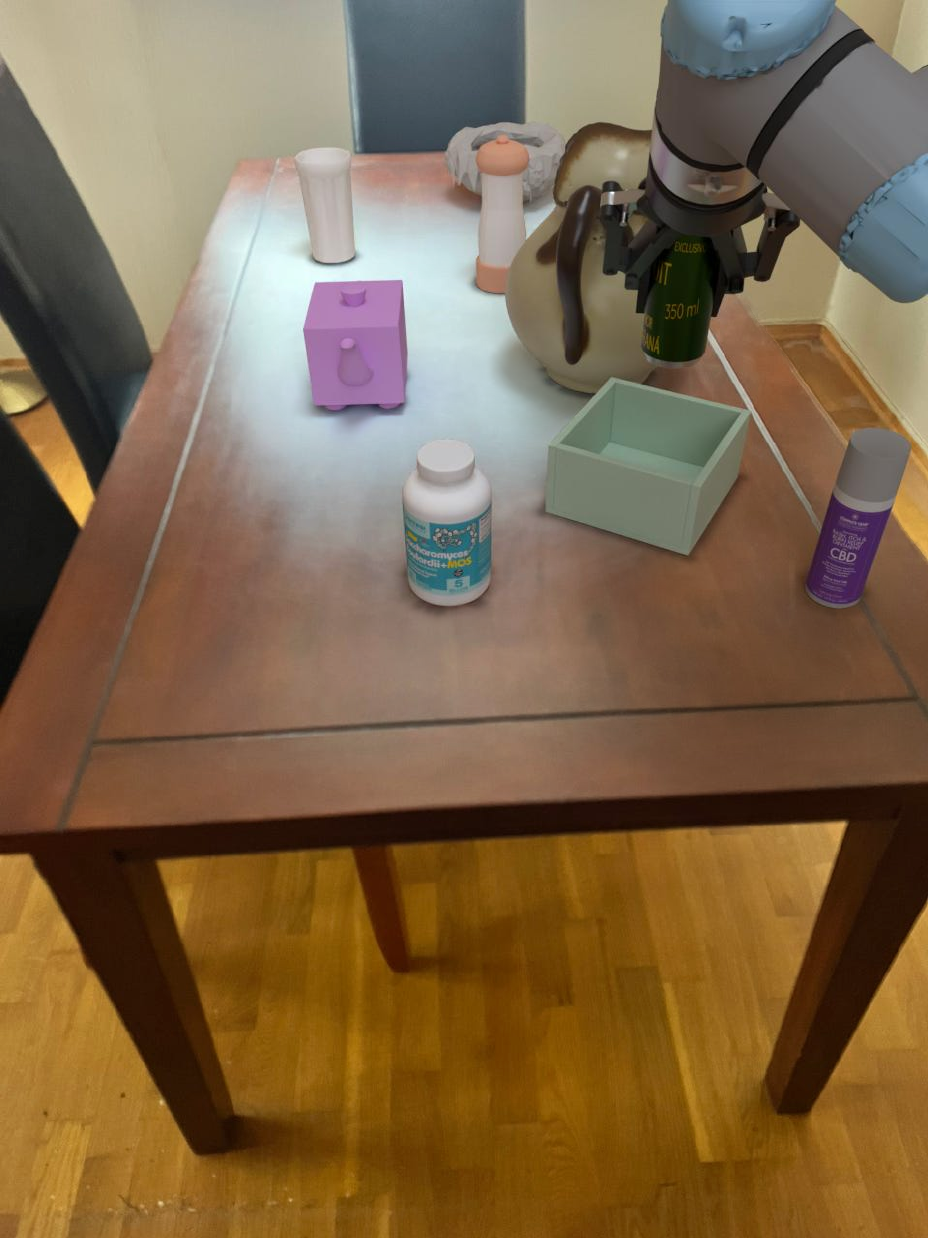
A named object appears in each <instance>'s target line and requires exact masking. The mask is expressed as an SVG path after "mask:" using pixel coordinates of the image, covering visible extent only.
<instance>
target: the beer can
mask: <svg viewBox="0 0 928 1238" xmlns="http://www.w3.org/2000/svg"><path fill="white" fill-rule="evenodd" d="M719 265H720V255H719V252H718V250H716V251H715V248H714V245H713V242H712V239H711V238H709V237H700V236H691V235H689V236H682V237H679V238H678V239H677V240H676V242H675V243H674V244H673V245H672V246H671V248H669V249H667V248H665V249H664V250H663V251H662V252H661V253H660V255H659V256H658V257H657V258H656V260H655V261H654V262H653V263H652V264H651V268H650V278H649V286H648V293H647V299H646V308H645V317H644V326H643V334H642V343H641V348H642V351H643V354H644V357H645V359H646V360H647V361H649V362H650V363H651V364H654V365H656V366H659V367H660V368H663V369H673V370H677V369H678V370H679V369H680V370H681V369H687V368H691V367H693V366H695V365H697V364H698V363H699V362H700V361H701V359H702V358H703V356H704V355H705V354H706V349H707V343H708V338H709V337H708V336H709V331H710V326H711V319H712V317H711V313H712V307H713V301H714V295H715V289H716V283H717V277H718V271H719ZM659 367H658V368H659Z"/></svg>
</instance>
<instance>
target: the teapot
mask: <svg viewBox="0 0 928 1238" xmlns="http://www.w3.org/2000/svg"><path fill="white" fill-rule="evenodd" d="M403 282H404V281H403V279H392V280H391V279H387V280H385V279H383V280H381V279H380V280H353V281H351V280H349V281H348V280H347V281H346V280H345V281H316V282H314V285H313V289H312V292H311V296H310V299H309V302H308V307H307V311H306V316H305V320H304V324H303V327H302V331H303V339H304V346H305V352H306V358H307V367H308V373H309V379H310V387H311V393H312V400H313V405H314V406H324V407H325V409H327V410H330V411H339V410H343V409H344V408H346V407H347V406H351V405H377V406H378V407H380V408H382V409H387V410H389V409H390V410H391V409H394V408H397V407H398V406H400V404H405V399H406V398H405V397H406V388H407V387H406V386H407V385H406V384H407V369H408V356H409V355H408V353H409V351H408V339H407V337H408V336H407V323H406V310H405V308H406V307H405V297H404V296H405V295H404V283H403Z"/></svg>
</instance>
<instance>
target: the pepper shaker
mask: <svg viewBox="0 0 928 1238" xmlns="http://www.w3.org/2000/svg"><path fill="white" fill-rule="evenodd" d="M529 161H530V158H529V153H528V151H527V149H526V147H525V146H524V145H523V144H521V143H519V142H516V141H514V140H509V138H508V137H507V136H506V135H500V136H498V137H497V139H496V140H493V141H490V142H488V143H486V144H484V145H482V146H481V147H480V148H479V150H478V152H477V154H476V164H477V167H478V169H479V170H480V171H481V172H482V197H481V209H480V214H479V224H478V230H477V243H478V244H477V245H478V255H477V257H476V258H475V274H476V275H475V276H476V278H475V279H476V280H475V281H476V282H475V283H476V287H478V289H480V290H482V291H484V292H486V293H487V292H488V293H492V294H505V283H506V277H507V273H508V270H509V268H510V265H511V263H512V261H513V259H514V257H515V255H516V254H517V252H518V250H519V249H520V247H521V246H522V245H523V243H524V242H525V241H526V240H527V227H526V220H525V218H526V217H525V211H524V202H523V171H524V170H525V169H526V168H527V166H528V164H529Z"/></svg>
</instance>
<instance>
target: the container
mask: <svg viewBox="0 0 928 1238" xmlns="http://www.w3.org/2000/svg"><path fill="white" fill-rule="evenodd" d="M911 451H912V445H911V442H910V441H909V440H908V438H906V437H905V436H904V435H902V434H901V433H899V432H896V431H894V430H890V429H887V428H881V427H864V428H860V429H857V430H855V431H853V432H852V433H851V435H850V437H849V440H848V443H847V446H846V448H845V453H844V456H843V459H842V461H841V464H840V468H839V470H838V473H837V477H836V480H835V483H834V485H833V488H832V491H831V495H830V498H829V501H828V505H827V508H826V512H825V514H824V518H823V523H822V526H821V529H820V532H819V534H818V535H819V536H818V539H817V543H816V546H815V549H814V552H813V556H812V560H811V563H810V567H809V570H808V573H807V575H806V580H805V584H804V590H805V592H806V594H807V595H808V597H809V598H810V599H811V600H813V601H814V602H815V603H817V604H818V605H822V606H824V607H828V608H832V609H847V608H851V607H853V606H855V605H857V604H858V603H859V601H860V599H861V598H862V595H863V592H864V589H865V585H866V584H867V581H868V578H869V575H870V572H871V569H872V566H873V564H874V561H875V559H876V556H877V553H878V550H879V547H880V544H881V541H882V538H883V535H884V532H885V530H886V527H887V524H888V522H889V519H890V516H891V513H892V511H893V508H894V504H895V502H896V498H897V495H898V493H899V489H900V486H901V482H902V479H903V476H904V474H905V470H906V467H907V465H908V460H909V457H910V454H911Z"/></svg>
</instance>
